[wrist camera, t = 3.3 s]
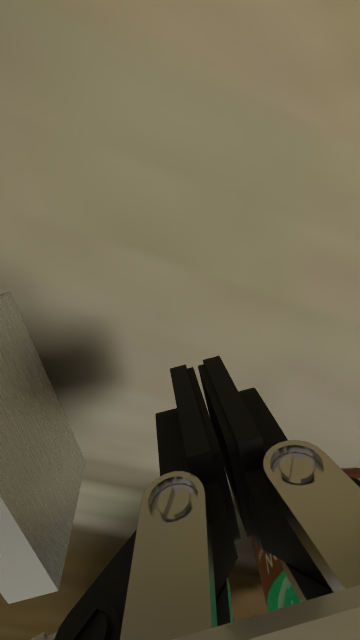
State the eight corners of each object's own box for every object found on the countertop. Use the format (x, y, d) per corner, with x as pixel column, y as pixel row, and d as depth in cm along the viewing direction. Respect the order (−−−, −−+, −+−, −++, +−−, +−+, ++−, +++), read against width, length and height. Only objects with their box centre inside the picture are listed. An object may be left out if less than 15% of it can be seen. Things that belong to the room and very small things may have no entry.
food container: (298, 421, 17) (497, 711, 7) (389, 451, 18) (651, 724, 9) (198, 575, 20) (245, 901, 11) (280, 590, 22) (384, 888, 12)
